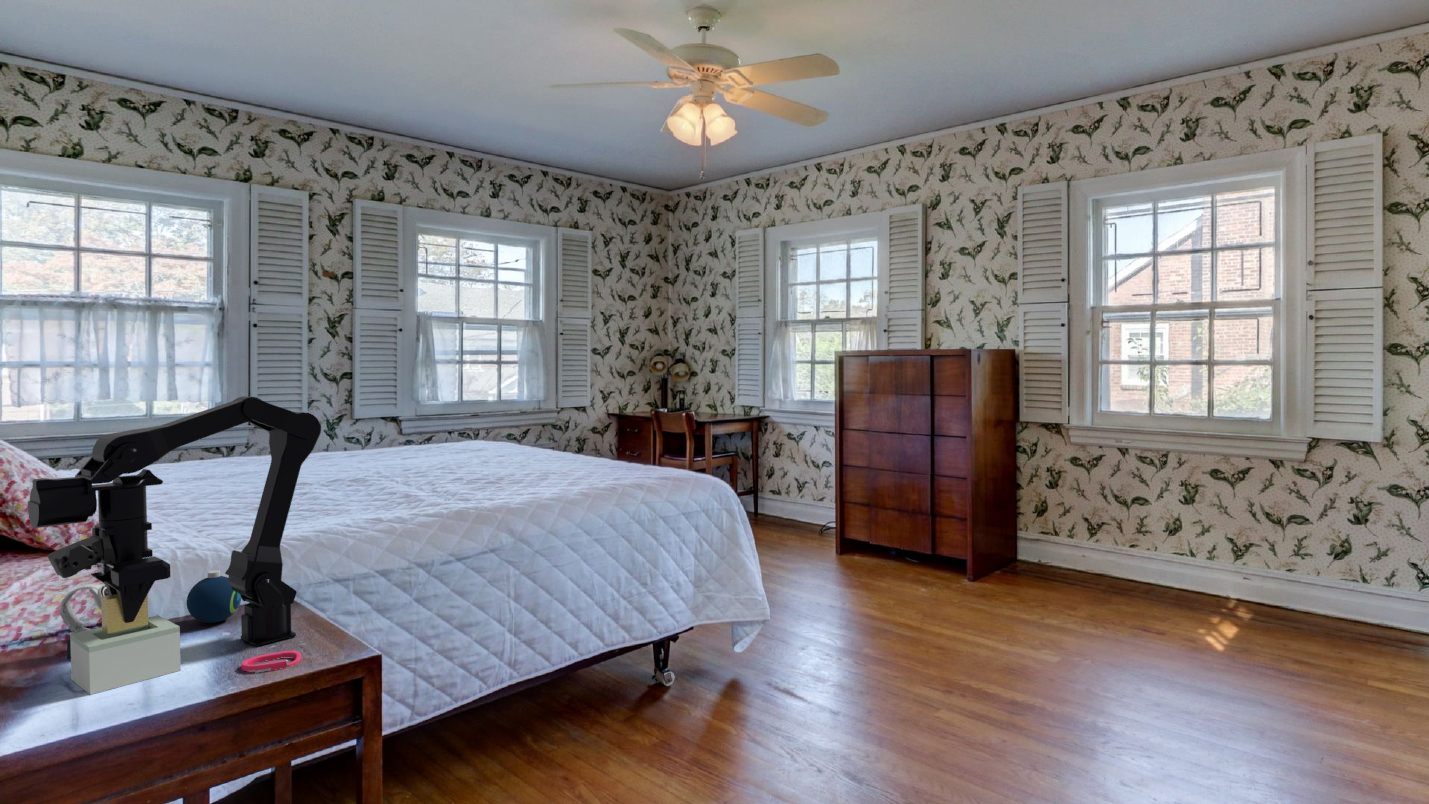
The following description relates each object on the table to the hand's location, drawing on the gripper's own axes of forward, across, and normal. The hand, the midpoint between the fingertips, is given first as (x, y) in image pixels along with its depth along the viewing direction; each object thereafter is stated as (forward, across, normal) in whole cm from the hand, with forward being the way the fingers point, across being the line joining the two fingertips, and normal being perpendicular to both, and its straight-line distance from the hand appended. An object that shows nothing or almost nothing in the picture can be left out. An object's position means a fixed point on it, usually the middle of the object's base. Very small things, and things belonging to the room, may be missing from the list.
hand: (125, 620), depth 114 cm
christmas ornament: (+9, -17, +18) cm, 26 cm away
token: (+1, 0, 0) cm, 1 cm away
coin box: (+8, 0, 0) cm, 8 cm away
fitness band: (+9, +13, +15) cm, 22 cm away
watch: (+8, -16, 0) cm, 18 cm away
